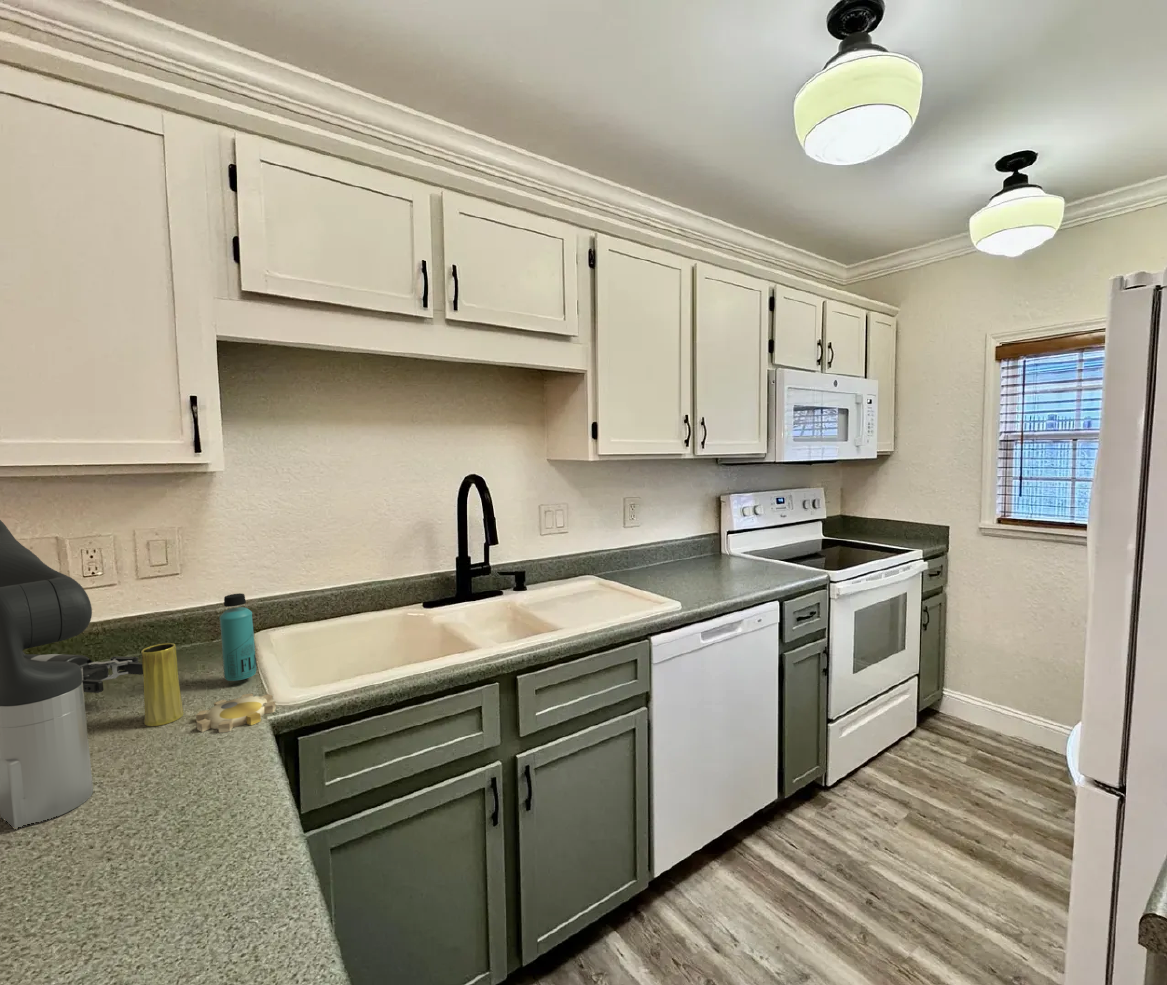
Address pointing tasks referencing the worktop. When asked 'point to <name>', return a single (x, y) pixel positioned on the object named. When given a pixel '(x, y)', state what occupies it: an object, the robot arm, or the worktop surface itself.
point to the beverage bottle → (237, 639)
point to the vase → (161, 685)
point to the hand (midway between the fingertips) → (124, 677)
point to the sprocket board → (235, 712)
